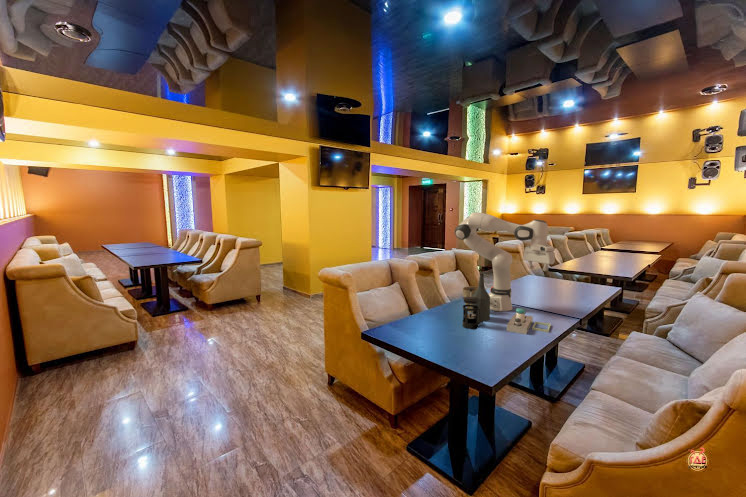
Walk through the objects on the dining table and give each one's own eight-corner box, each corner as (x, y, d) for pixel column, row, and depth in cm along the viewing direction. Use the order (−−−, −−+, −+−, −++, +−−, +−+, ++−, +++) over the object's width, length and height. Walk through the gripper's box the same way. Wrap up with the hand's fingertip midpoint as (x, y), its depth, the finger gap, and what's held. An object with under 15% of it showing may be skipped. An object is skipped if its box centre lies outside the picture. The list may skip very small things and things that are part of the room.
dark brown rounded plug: (514, 325, 177) (514, 319, 177) (515, 324, 180) (515, 318, 179) (520, 326, 176) (520, 320, 175) (521, 325, 178) (521, 318, 178)
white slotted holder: (526, 337, 172) (526, 328, 172) (506, 333, 178) (506, 324, 178) (532, 324, 191) (532, 316, 190) (514, 321, 196) (514, 313, 196)
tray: (532, 332, 179) (532, 327, 179) (535, 325, 189) (535, 321, 189) (548, 335, 175) (548, 330, 174) (550, 328, 184) (550, 323, 184)
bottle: (487, 318, 204) (488, 271, 201) (491, 323, 194) (492, 274, 191) (470, 317, 205) (471, 271, 202) (474, 323, 195) (474, 274, 192)
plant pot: (457, 310, 222) (458, 287, 220) (476, 307, 226) (476, 285, 224) (470, 316, 208) (470, 292, 206) (490, 313, 212) (490, 290, 210)
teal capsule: (514, 326, 184) (515, 309, 182) (516, 324, 187) (516, 307, 186) (523, 328, 181) (524, 311, 180) (525, 325, 185) (525, 309, 184)
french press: (458, 325, 192) (458, 288, 189) (467, 322, 198) (467, 285, 195) (475, 331, 183) (476, 291, 180) (484, 327, 189) (485, 288, 186)
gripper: (521, 245, 201) (520, 267, 203) (548, 248, 182) (547, 272, 184) (529, 245, 203) (528, 266, 205) (557, 248, 184) (556, 272, 186)
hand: (537, 269), depth 194 cm, fingers open, 8 cm apart
